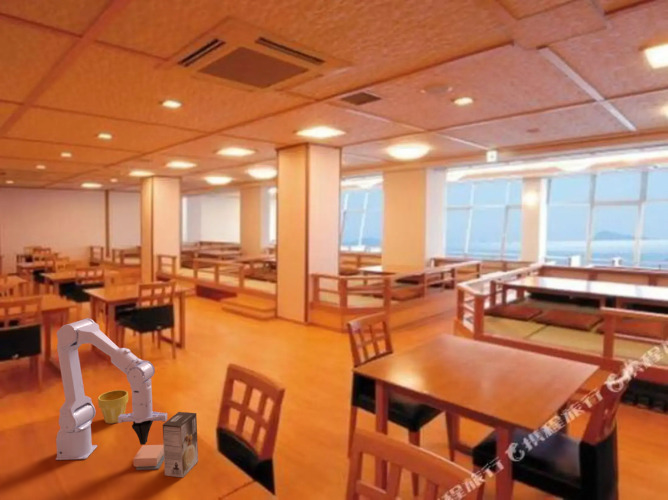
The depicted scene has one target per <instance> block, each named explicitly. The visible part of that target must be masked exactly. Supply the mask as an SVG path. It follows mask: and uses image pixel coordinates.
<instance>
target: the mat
mask: <svg viewBox="0 0 668 500" xmlns="http://www.w3.org/2000/svg"><path fill="white" fill-rule="evenodd" d="M162 464H164V454H163V456H162V458H161V459H160V461H159V463H158V464H157V466H141V467H135V470H136V471H145V470H146V471H150V470H153V471H154V470H159V469H160V468H161V467H162Z"/></svg>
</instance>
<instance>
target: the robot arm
mask: <svg viewBox="0 0 668 500" xmlns="http://www.w3.org/2000/svg"><path fill="white" fill-rule="evenodd" d="M56 338H57V345H56V350H57V355H58V361H59V368H60V375H61V381H62V386H63V393H64V399H65V401H64V402H63V404H62V405H61V407H60V408H59V418H58V425H59V427H60V428H59V430H58V432H57V435H56V440H55V441H56V442H55V443H56V457H55V461H62V460H63V461H65V460H67V461H68V460H86V459H88V458H89V457H90V456H91V454H92V453H93V452H94V451H95V449H97V447H98V444H92V441H93V440H92V427H91V426H92V425H91V424H92V423H93V419H94V418H95V416H96V408H95V405H94V404H93V402H92V398H91V397H89V396H87V395H86V394H85V387H84V381H83V376H82V370H81V369H82V368H81V362H80V356H79V350H78V349H79V348H80V347H81V346H82V344H83V345H84V344H85V345H86V344H91V345H92V346H94V347H95V348H97V349H99V350H100V351H102V352H103V353H105V354H106V355H107V356H109V357H110V363H111V364H113V365H114V366H115V367H116V368H118V369H119V370H120V371H121V372H122V373H124V374H125V375H126V380H127V383H129V385H130V389H131V406H132V409H131V410H132V412H130V413H129V412H128V413H125V414H120V415H119V416H118V422H117V423H118V424H122V423H123V422H124V423H127V422H129V423H130V422H131V423H132V424H131V428H132V429H133V431H134V432H135V434H136V436H137V438H138V441H139V444H140V445H141V446H143V445H147V444H146V443H147V442H148V436H149V435H150V434H149V433H150V430H151V427H152V425H153V422H156V421H157V422H159V421H161V422H162V423H163V422H164V423H165V422H167V421H168V412H159V411H153V394H152V392H153V391H152V390H153V389H152V388H153V387H152V378H153V377H154V375H155V372H156V369H155V367H154V365H153V363H152V362H151V361H149V360H143V359H141V358H138V356H136V355H135V354H134V353H133V352H132V351H131V349H129V348H126V347H119V346H118V345H116V343H114V342H113V341H112V340H111V339H110V338H109V337H108V336H107V335H106V334H105V333H104V332H103V331H102V330H100V325H99V324H98V323H96V322H95V321H94V320H93V319H92V318H86V317H85V318H83V319H81V320H78V321H73V322H71V323H68V324H64V325H62V326H61V327H60V328H59V329H58V330H57V331H56Z"/></svg>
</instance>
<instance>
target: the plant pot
mask: <svg viewBox="0 0 668 500" xmlns="http://www.w3.org/2000/svg"><path fill="white" fill-rule="evenodd" d="M128 402H129V392H128V391H127V390H124V389H114V390H110V391H107V392H103V393H101V394H99V396H98V397H97V403H98V404H97V405H98V408H99V409H101V410H100V411H101V413H102V416H103V417H102V418H103V419H104V422H105V423H106V424H116V423H118V416H119V415H120V414H126V409H127V404H128Z"/></svg>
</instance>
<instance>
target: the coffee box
mask: <svg viewBox="0 0 668 500" xmlns="http://www.w3.org/2000/svg"><path fill="white" fill-rule="evenodd" d="M197 422H198V421H197V412H189V411H188V412H186V411H185V412H184V411H183V412H182V411H178V412H177V413H175V414H174V415H173V416H172V417H170V418H169V419H167V420H166V421H165V422H164V423H162V440H163V441H162V442H163V443H162V445H164V461H163V464H164V466H163V467H164V476H166V477H167V476H168V477H176V478H184V477H185V476H186V475H187V474H188V473H189V472H190V471H191V470H192V469H193V467H194V466H195V465H196V464H197V463H199V450H198V424H197Z"/></svg>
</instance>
